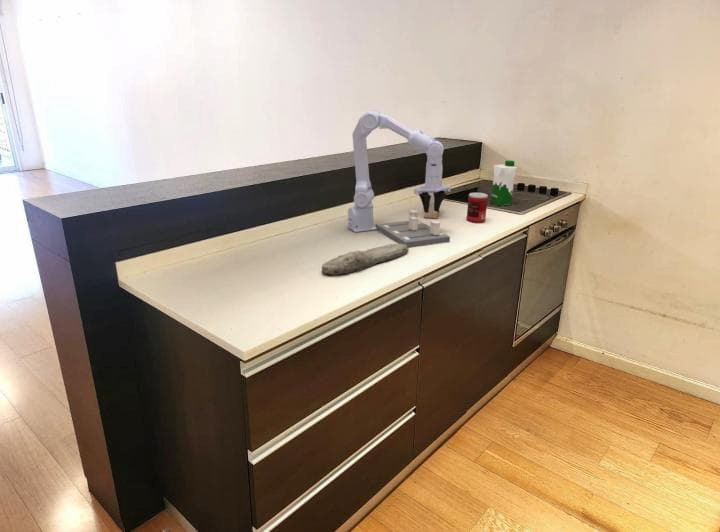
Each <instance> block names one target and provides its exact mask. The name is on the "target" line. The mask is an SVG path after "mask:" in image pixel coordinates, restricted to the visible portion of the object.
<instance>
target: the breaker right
mask: <svg viewBox="0 0 720 532" xmlns="http://www.w3.org/2000/svg"><path fill="white" fill-rule="evenodd" d="M440 226H441V222H439V221H437V220H431V221H430V233H431V234H433V235H439V231H440V229H441V228H440Z"/></svg>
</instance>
